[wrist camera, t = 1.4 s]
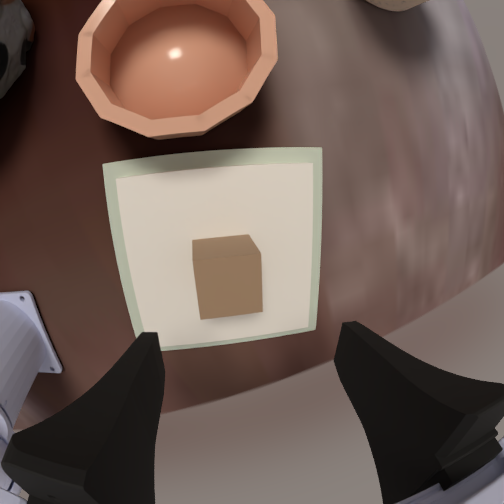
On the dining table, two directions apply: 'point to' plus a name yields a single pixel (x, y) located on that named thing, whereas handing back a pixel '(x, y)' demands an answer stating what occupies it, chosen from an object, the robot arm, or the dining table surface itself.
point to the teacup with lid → (396, 4)
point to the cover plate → (211, 215)
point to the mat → (201, 161)
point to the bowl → (175, 62)
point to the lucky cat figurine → (13, 41)
